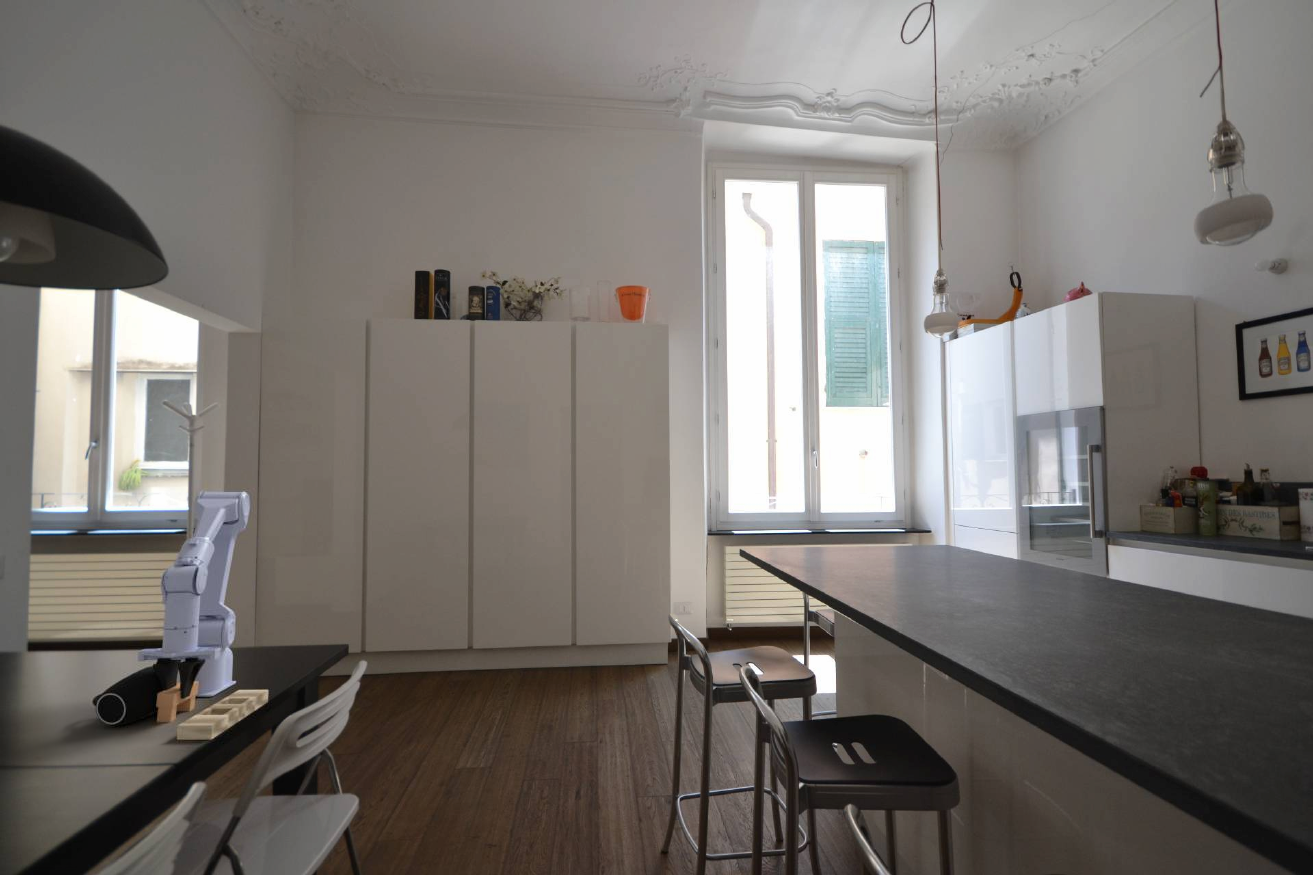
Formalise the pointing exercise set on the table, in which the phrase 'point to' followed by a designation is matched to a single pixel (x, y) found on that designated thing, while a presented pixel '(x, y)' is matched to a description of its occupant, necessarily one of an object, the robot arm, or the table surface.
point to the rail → (222, 715)
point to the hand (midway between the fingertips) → (177, 697)
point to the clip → (174, 702)
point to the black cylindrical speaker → (129, 698)
